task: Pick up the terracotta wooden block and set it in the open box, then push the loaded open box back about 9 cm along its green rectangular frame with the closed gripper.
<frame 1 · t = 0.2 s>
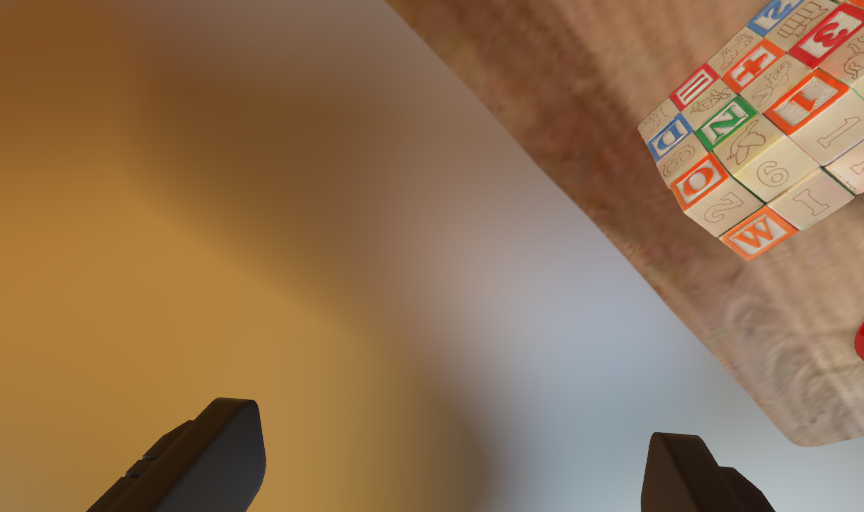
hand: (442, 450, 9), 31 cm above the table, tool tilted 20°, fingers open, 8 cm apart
stack of blocks: (792, 31, 31), on the table
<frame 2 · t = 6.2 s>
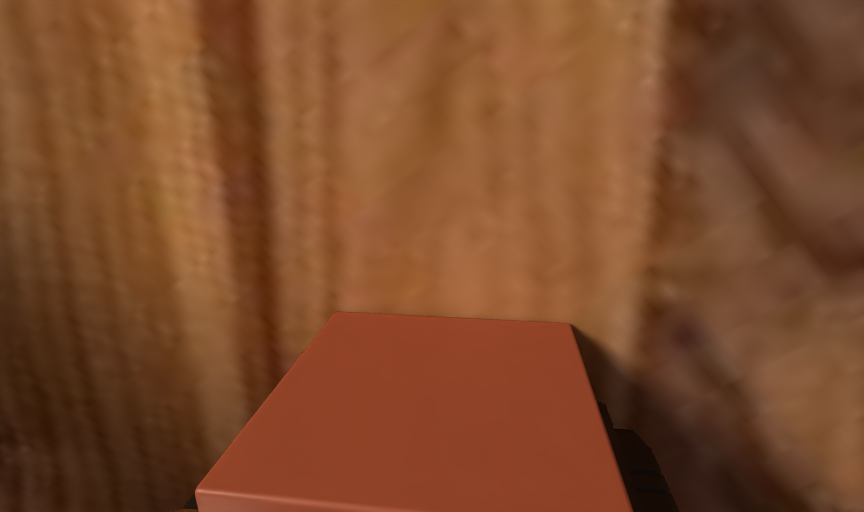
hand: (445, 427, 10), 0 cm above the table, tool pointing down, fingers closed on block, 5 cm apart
block: (448, 416, 10), on the table, touching gripper
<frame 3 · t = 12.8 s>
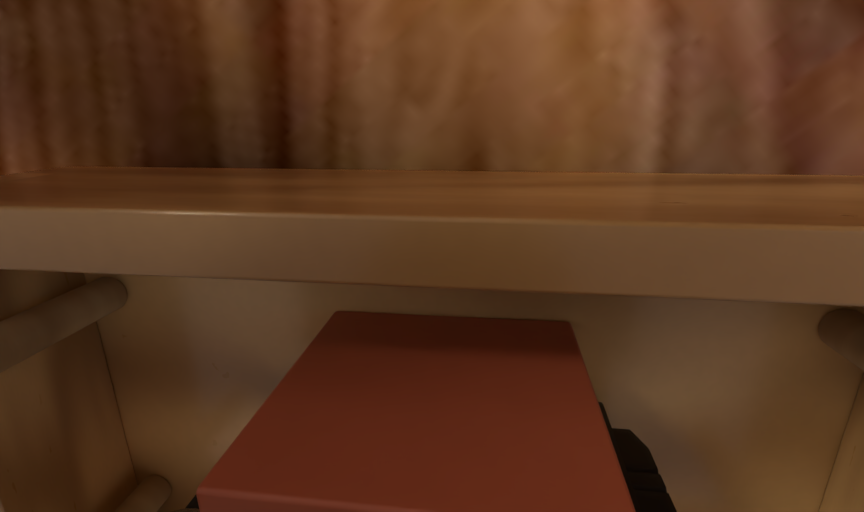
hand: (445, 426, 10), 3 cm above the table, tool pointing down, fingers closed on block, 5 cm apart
open box: (433, 464, 9), point 4 cm above the table, slide at 0.2 cm, touching block
block: (449, 415, 10), point 3 cm above the table, touching gripper, open box
when the fingers open (3 cm above the table, at t = 13.0 s): block stays where it is, resting on open box.
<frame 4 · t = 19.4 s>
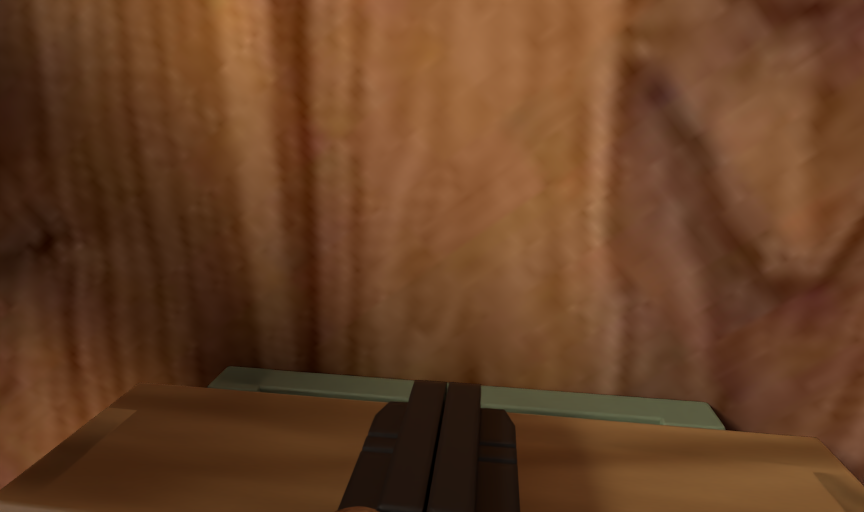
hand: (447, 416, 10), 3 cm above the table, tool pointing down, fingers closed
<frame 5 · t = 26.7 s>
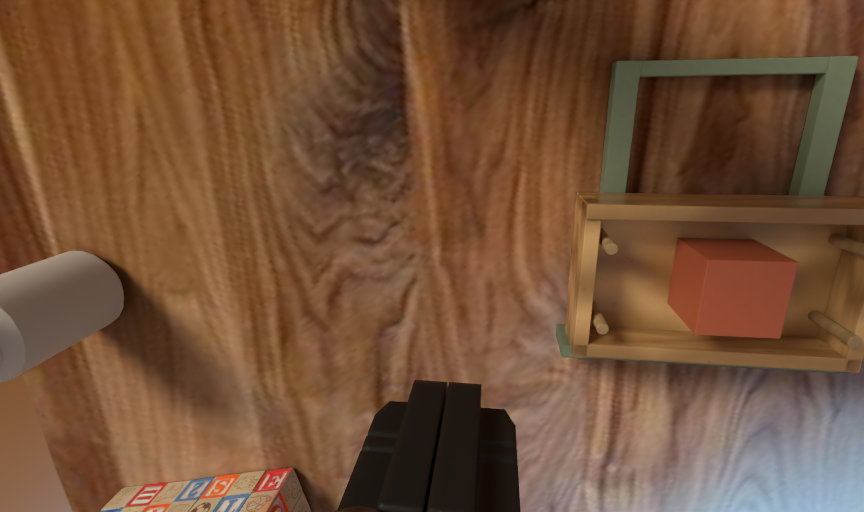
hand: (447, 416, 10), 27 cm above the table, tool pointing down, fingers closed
green rectangular frame: (699, 213, 34), on the table
can: (96, 285, 44), on the table
open box: (714, 280, 31), point 4 cm above the table, slide at 9.3 cm, touching block
stack of blocks: (216, 498, 50), on the table
block: (709, 272, 33), point 3 cm above the table, touching open box
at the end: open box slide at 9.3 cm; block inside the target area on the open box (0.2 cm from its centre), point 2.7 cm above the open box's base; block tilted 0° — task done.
